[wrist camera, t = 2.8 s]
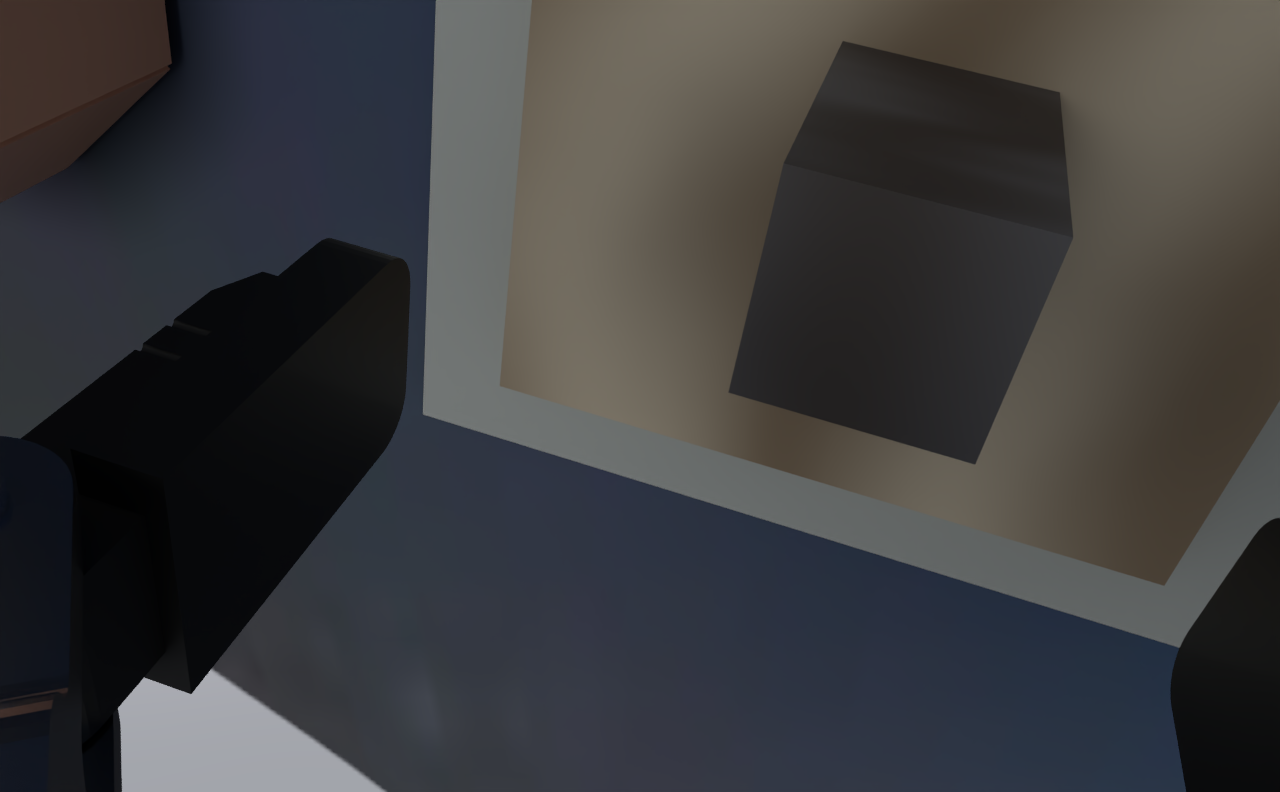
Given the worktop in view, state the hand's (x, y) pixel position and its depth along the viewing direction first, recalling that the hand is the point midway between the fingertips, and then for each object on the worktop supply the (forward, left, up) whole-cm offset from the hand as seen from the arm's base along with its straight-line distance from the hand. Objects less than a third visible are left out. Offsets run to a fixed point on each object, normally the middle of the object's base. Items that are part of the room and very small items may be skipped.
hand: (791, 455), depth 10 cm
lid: (-1, 0, -9) cm, 9 cm away
